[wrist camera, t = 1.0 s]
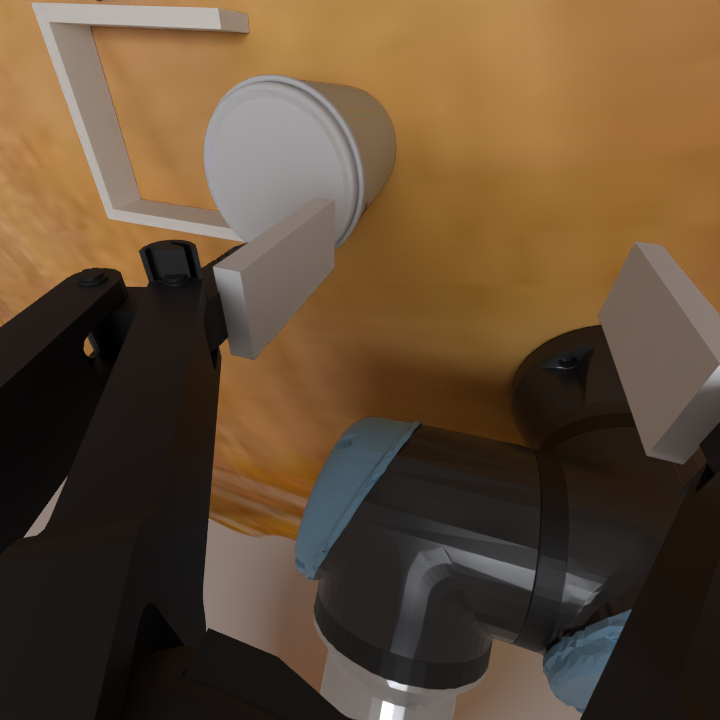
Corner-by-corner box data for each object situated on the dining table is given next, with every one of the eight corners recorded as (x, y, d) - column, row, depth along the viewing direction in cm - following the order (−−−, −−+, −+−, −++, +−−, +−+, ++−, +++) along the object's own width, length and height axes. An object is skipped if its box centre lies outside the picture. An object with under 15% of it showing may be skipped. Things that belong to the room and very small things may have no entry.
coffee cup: (308, 215, 34) (234, 270, 25) (277, 86, 29) (168, 96, 20) (413, 204, 31) (372, 262, 22) (400, 57, 25) (337, 52, 16)
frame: (269, 229, 36) (250, 243, 33) (135, 208, 39) (108, 218, 36) (247, 13, 26) (218, 8, 24) (74, 8, 30) (31, 2, 27)
